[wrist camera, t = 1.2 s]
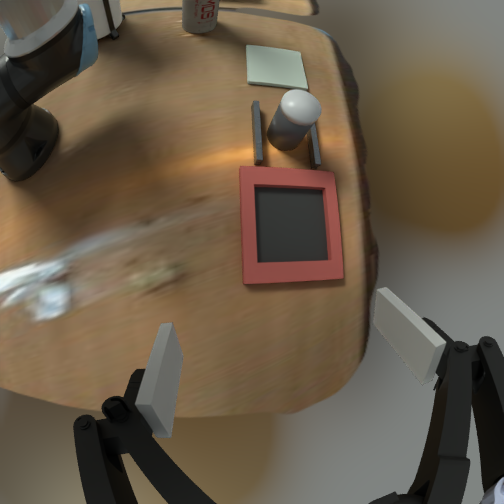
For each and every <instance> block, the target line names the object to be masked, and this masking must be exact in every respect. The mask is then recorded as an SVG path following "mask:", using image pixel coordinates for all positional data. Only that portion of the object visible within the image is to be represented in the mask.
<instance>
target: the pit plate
mask: <svg viewBox="0 0 504 504" xmlns="http://www.w3.org/2000/svg"><path fill="white" fill-rule="evenodd" d="M239 181H240V214H241V243H242V270H243V284H257V283H278V282H296V281H313V280H328V279H342V278H343V259H342V245H341V232H340V221H339V211H338V202H337V194H336V186H335V178H334V172H329V171H318V170H307V169H293V168H277V167H256V166H240V169H239Z"/></svg>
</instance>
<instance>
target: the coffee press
mask: <svg viewBox="0 0 504 504" xmlns="http://www.w3.org/2000/svg"><path fill="white" fill-rule="evenodd" d="M76 1H77V2H78V5H80V4H85V3H86V4H88V5H89V7H90V9H91V12H92V16H93V20H94V26H95V27H94V28H95V30H96V35H97V39H100V38H102V37H104V36H106V35H109V36H110V37H111V38H112V39H113V40H115V39H116V38H118V37H119V34H118V32H117V31H116V28H117V27H118V26H119V25H120V24H121V22H122V20H123V19H124V18H125V15H123V14H122V13H121V7H120V1H119V0H76Z"/></svg>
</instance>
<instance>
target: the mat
mask: <svg viewBox="0 0 504 504" xmlns="http://www.w3.org/2000/svg"><path fill="white" fill-rule="evenodd" d="M246 61H247V82H248V84H258V85H268V86H277V87H285V88H292V89H299V90H305V91H307V89H308V86H307V81H306V77H305V72H304V68H303V63H302V59H301V55H300V52H297V51H292V50H286V49H279V48H272V47H264V46H255V45H246Z"/></svg>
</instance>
